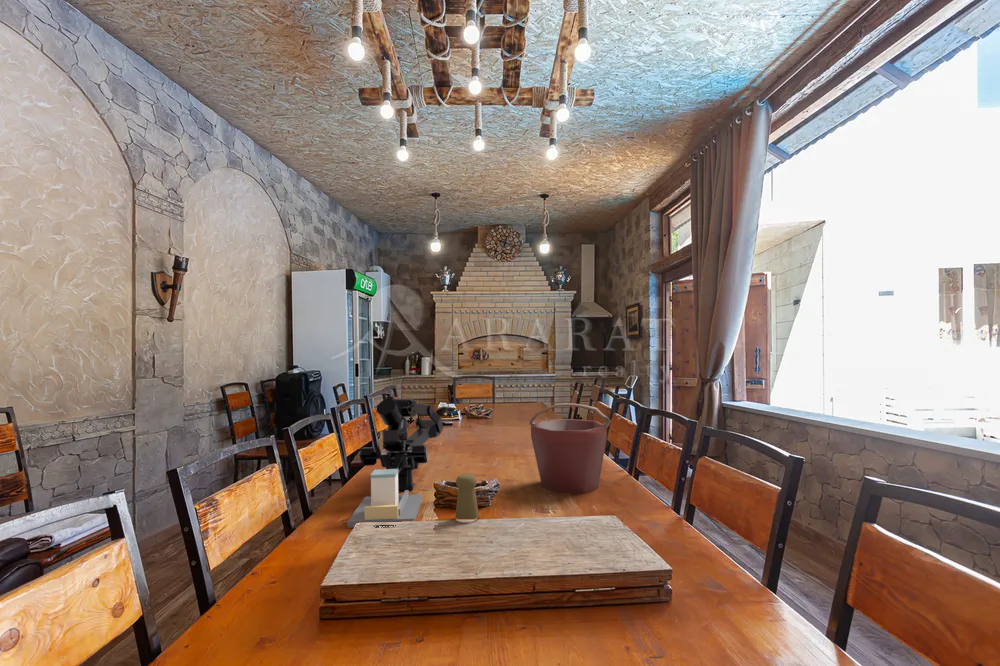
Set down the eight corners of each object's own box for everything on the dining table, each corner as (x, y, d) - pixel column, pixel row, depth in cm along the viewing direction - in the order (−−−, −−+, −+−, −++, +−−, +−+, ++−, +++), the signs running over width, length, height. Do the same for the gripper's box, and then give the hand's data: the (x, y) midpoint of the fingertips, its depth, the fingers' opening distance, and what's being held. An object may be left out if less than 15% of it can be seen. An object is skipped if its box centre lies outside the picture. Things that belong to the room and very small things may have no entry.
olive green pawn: (475, 523, 118) (474, 478, 118) (452, 522, 119) (451, 477, 119) (481, 515, 124) (480, 472, 124) (459, 514, 125) (458, 471, 125)
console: (365, 501, 137) (365, 485, 137) (422, 499, 138) (421, 483, 138) (347, 527, 117) (347, 509, 118) (413, 524, 118) (413, 506, 118)
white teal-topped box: (375, 507, 127) (374, 469, 127) (399, 506, 127) (398, 468, 127) (371, 514, 121) (370, 474, 122) (395, 513, 122) (395, 474, 122)
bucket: (620, 482, 150) (618, 401, 151) (594, 502, 131) (591, 410, 132) (550, 472, 163) (547, 398, 164) (516, 490, 144) (514, 406, 145)
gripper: (359, 419, 138) (351, 468, 127) (425, 417, 139) (423, 465, 128) (366, 441, 146) (358, 489, 135) (428, 438, 147) (426, 486, 136)
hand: (391, 482), depth 133 cm, fingers closed
